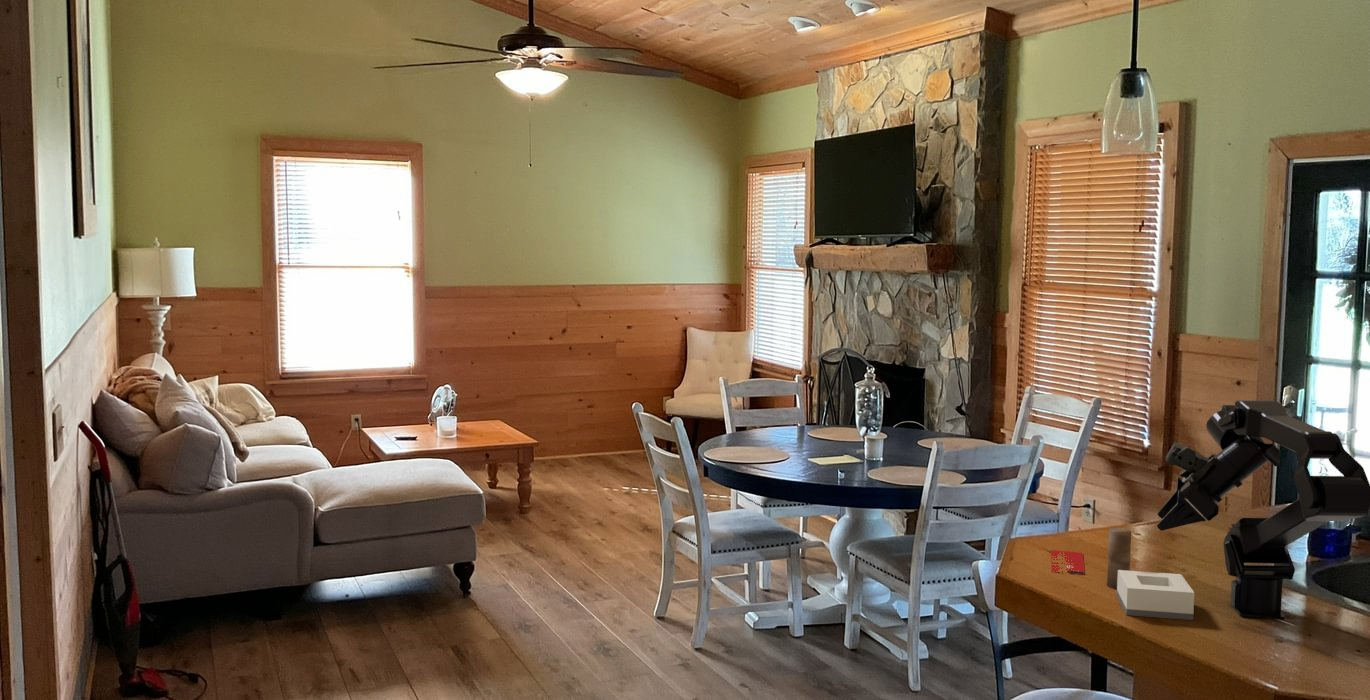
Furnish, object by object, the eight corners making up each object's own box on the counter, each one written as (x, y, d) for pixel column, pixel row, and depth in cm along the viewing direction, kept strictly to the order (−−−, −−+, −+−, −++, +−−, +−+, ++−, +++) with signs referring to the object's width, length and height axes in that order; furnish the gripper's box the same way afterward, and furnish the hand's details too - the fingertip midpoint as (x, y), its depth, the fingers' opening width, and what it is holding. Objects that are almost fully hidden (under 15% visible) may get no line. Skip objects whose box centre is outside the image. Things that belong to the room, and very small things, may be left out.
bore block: (1179, 600, 181) (1181, 574, 181) (1193, 620, 171) (1194, 592, 171) (1116, 595, 183) (1117, 569, 183) (1126, 615, 174) (1127, 587, 173)
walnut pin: (1127, 583, 190) (1129, 528, 189) (1130, 590, 186) (1133, 533, 185) (1105, 582, 191) (1107, 527, 190) (1108, 588, 187) (1110, 532, 186)
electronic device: (1051, 552, 211) (1051, 574, 197) (1051, 549, 211) (1051, 571, 196) (1082, 555, 209) (1085, 577, 195) (1083, 552, 209) (1085, 574, 195)
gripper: (1196, 420, 190) (1126, 476, 195) (1199, 437, 173) (1122, 497, 178) (1244, 468, 187) (1172, 523, 193) (1251, 489, 170) (1172, 549, 176)
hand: (1159, 522), depth 185 cm, fingers open, 9 cm apart
